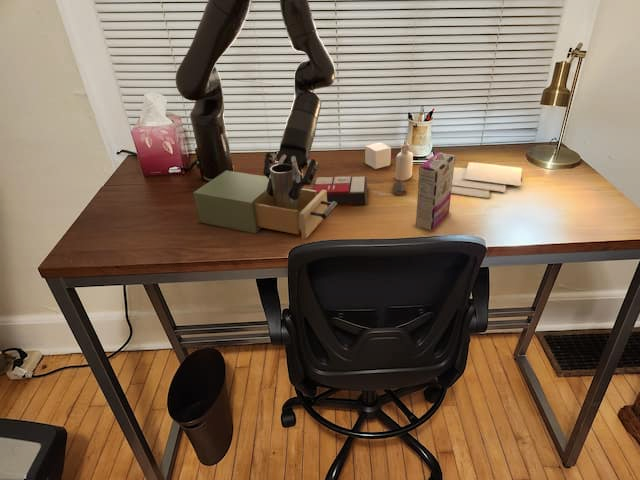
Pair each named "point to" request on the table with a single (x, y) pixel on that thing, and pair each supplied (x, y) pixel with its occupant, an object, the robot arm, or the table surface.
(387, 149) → the cream white cube
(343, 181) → the red and black box
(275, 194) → the metal cup
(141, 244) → the table surface
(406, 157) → the eye dropper bottle
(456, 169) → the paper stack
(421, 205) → the candy bar box
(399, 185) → the block
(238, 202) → the cabinet
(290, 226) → the drawer
